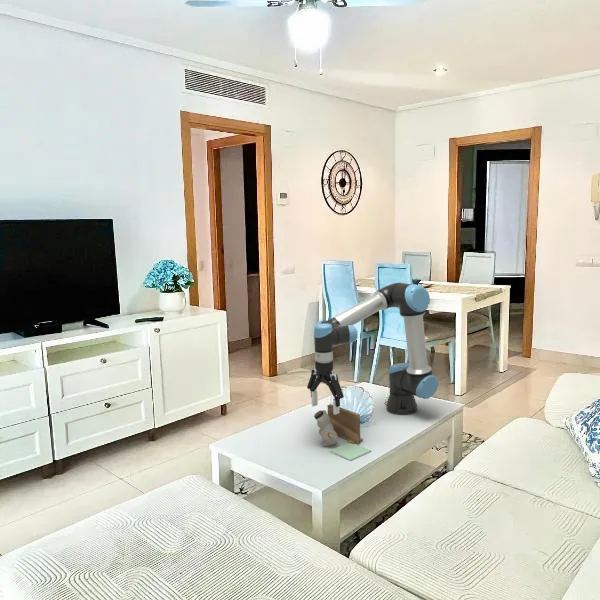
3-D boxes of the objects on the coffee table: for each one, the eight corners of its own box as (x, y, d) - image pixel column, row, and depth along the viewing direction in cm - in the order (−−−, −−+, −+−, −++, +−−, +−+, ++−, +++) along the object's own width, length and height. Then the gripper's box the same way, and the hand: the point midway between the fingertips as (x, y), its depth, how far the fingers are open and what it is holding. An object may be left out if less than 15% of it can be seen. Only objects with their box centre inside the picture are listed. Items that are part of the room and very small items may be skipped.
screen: (334, 430, 246) (333, 403, 244) (363, 441, 232) (362, 413, 230) (325, 434, 242) (324, 406, 240) (353, 446, 229) (353, 416, 227)
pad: (350, 443, 231) (350, 441, 231) (371, 451, 222) (371, 450, 222) (330, 451, 224) (330, 450, 224) (350, 461, 215) (350, 459, 215)
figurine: (324, 438, 238) (322, 406, 235) (342, 443, 231) (341, 410, 229) (311, 445, 231) (310, 412, 229) (330, 451, 225) (329, 417, 222)
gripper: (298, 357, 232) (299, 404, 236) (338, 368, 213) (339, 419, 217) (311, 354, 237) (312, 400, 240) (351, 364, 218) (352, 414, 221)
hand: (325, 409), depth 228 cm, fingers open, 13 cm apart
